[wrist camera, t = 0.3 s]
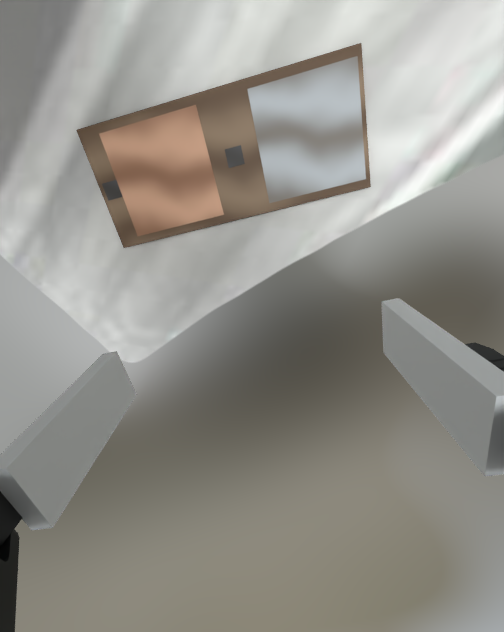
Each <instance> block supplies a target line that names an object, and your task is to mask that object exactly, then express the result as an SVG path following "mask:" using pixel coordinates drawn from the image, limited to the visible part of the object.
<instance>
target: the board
mask: <svg viewBox="0 0 504 632" xmlns="http://www.w3.org/2000/svg"><path fill="white" fill-rule="evenodd" d="M77 133H78V135H79V138H80V140H81V143H82V145H83V148H84V150H85V153H86V155H87V158H88V160H89V163H90V165H91V167H92V170H93V172H94V175H95V177H96V180H97V182H98V185H99V187H100V190H101V192H102V195H103V197H104V200H105V202H106V205H107V207H108V210H109V212H110V215H111V217H112V220H113V222H114V225H115V227H116V230H117V232H118V235H119V237H120V240H121V242H122V245H123V247H124V248H126V247H130V246H134V245H138V244H142V243H146V242H150V241H154V240H158V239H162V238H166V237H170V236H174V235H178V234H182V233H186V232H190V231H194V230H198V229H202V228H206V227H210V226H214V225H218V224H222V223H226V222H230V221H234V220H239V219H243V218H247V217H251V216H255V215H259V214H263V213H267V212H271V211H275V210H279V209H283V208H287V207H291V206H295V205H299V204H303V203H307V202H311V201H315V200H319V199H323V198H327V197H331V196H335V195H339V194H343V193H347V192H352V191H356V190H360V189H364V188H368V187H371V186H370V171H369V155H368V140H367V124H366V109H365V94H364V78H363V63H362V47H361V43H360V44H356V45H353V46H350V47H347V48H343V49H340V50H337V51H333V52H330V53H327V54H324V55H320V56H317V57H314V58H311V59H307V60H304V61H301V62H297V63H294V64H291V65H288V66H284V67H281V68H278V69H275V70H271V71H268V72H265V73H261V74H258V75H255V76H252V77H248V78H245V79H242V80H239V81H235V82H232V83H229V84H225V85H222V86H219V87H216V88H212V89H209V90H206V91H203V92H199V93H196V94H193V95H189V96H186V97H183V98H180V99H176V100H173V101H170V102H167V103H163V104H160V105H157V106H153V107H150V108H147V109H144V110H140V111H137V112H134V113H131V114H127V115H124V116H121V117H117V118H114V119H111V120H108V121H104V122H101V123H98V124H95V125H91V126H88V127H85V128H81V129H78V130H77Z"/></svg>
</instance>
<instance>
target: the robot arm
mask: <svg viewBox="0 0 504 632" xmlns="http://www.w3.org/2000/svg"><path fill="white" fill-rule="evenodd" d="M382 323H383V324H382V325H383V348H384V354H385V355H386V356H387V357H388V359H389V360H390V361H391V362H392V364H393V365H394V366H395V367H396V368H397V370H398V371H399V372H400V373H401V375H402V376H403V377H404V378H405V379H406V381H407V382H408V383H409V384H410V385H411V387H412V388H413V389H414V391H415V392H416V393H417V394H418V395H419V397H420V398H421V399H422V400H423V402H424V403H425V404H426V405H427V406H428V408H429V409H430V410H431V411H432V413H433V414H434V415H435V416H436V417H437V419H438V420H439V421H440V422H441V424H442V425H443V426H444V427H445V429H446V430H447V431H448V432H449V433H450V435H451V436H452V437H453V438H454V440H455V441H456V442H457V443H458V444H459V446H460V447H461V448H462V449H463V451H464V452H465V453H466V454H467V455H468V457H469V458H470V459H471V460H472V462H473V463H474V464H475V465H476V466H477V468H478V469H479V470H480V471H481V472H482V474H483V475H484V476H492V475H501V474H504V356H503V355H501V354H500V353H498V352H497V351H495V350H494V349H491V348H489V347H486V346H483V345H480V344H477V343H470V344H463V343H462V342H461V341H459V340H458V339H456V338H455V337H453V336H452V335H450V334H449V333H448V332H446V331H445V330H443V329H442V328H440V327H439V326H438V325H436V324H435V323H433V322H432V321H431V320H429V319H428V318H426V317H425V316H423V315H422V314H420V313H419V312H418V311H416V310H415V309H413V308H412V307H411V306H409V305H408V304H406V303H405V302H404V301H402V300H401V299H399V298H397V299H392V300H386V301H382ZM136 395H137V394H136V392H135V389H134V387H133V385H132V383H131V381H130V379H129V377H128V374H127V372H126V370H125V368H124V366H123V364H122V361H121V359H120V357H119V355H118V353H117V351H116V352H111V353H105V354H102V355H101V356H100V357H99V358H98V359H97V360H96V361H95V362H94V363H93V364H92V365H91V366H90V367H89V368H88V369H87V370H86V371H85V372H84V373H83V374H82V375H81V376H80V377H79V378H78V379H77V380H76V381H75V382H74V383H73V384H72V385H71V386H70V387H69V388H68V389H67V390H66V391H65V392H64V393H63V394H62V395H61V396H60V397H59V398H58V399H57V400H56V401H55V402H53V404H51V405H50V406H49V407H48V408H47V409H46V410H45V411H44V412H43V413H42V414H41V415H40V416H39V417H38V418H37V419H36V420H35V421H34V422H33V423H32V424H31V425H30V426H29V427H28V428H27V429H26V430H25V431H24V432H23V433H22V434H21V435H20V436H19V437H18V438H17V439H16V440H15V441H14V442H13V443H12V444H11V445H10V446H9V447H8V448H7V449H6V450H5V451H4V452H3V453H2V454H0V632H15V613H16V593H17V574H18V554H19V553H18V552H19V536H18V533H17V532H16V531H15V530H14V528H15V527H16V526H17V524H18V523H19V522H20V520H21V519H23V521H24V522H25V523H26V524H27V525H28V526H29V527H30V529H31V530H38V529H46V528H53V526H54V525H55V523H56V522H57V520H58V519H59V517H60V515H61V514H62V512H63V510H64V509H65V508H66V506H67V504H68V503H69V501H70V500H71V498H72V496H73V495H74V493H75V492H76V490H77V489H78V487H79V485H80V484H81V482H82V481H83V479H84V477H85V475H86V474H87V473H88V471H89V469H90V468H91V466H92V465H93V463H94V461H95V460H96V458H97V457H98V455H99V454H100V452H101V450H102V449H103V447H104V446H105V444H106V443H107V441H108V439H109V437H110V436H111V435H112V433H113V431H114V430H115V428H116V427H117V425H118V423H119V422H120V420H121V418H122V417H123V416H124V414H125V412H126V411H127V409H128V408H129V406H130V404H131V403H132V401H133V400H134V398H135V397H136Z"/></svg>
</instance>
